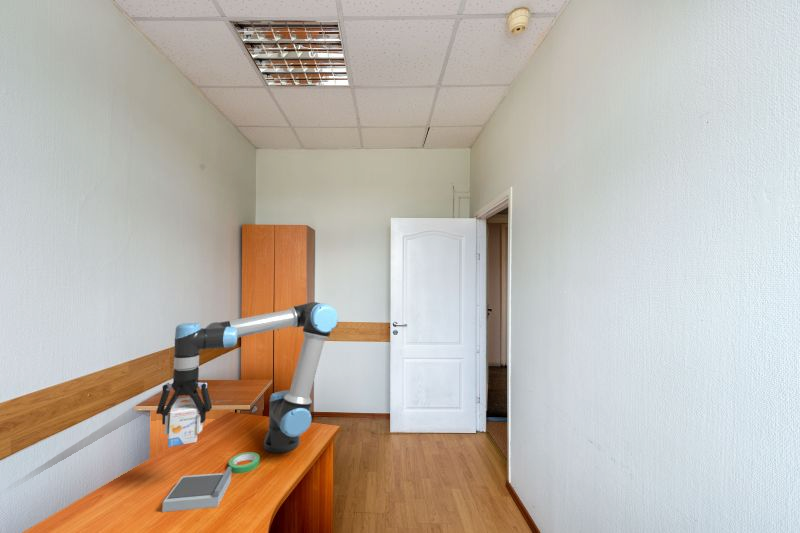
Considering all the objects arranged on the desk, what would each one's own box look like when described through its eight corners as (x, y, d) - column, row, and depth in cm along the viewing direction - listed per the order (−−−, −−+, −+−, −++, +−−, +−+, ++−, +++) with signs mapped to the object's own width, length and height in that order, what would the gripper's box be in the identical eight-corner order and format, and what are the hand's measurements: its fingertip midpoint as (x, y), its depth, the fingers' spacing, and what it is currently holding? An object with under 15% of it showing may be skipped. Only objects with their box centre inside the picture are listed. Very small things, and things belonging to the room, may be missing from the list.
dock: (230, 480, 121) (231, 466, 121) (217, 506, 107) (218, 490, 107) (182, 484, 118) (183, 470, 118) (162, 512, 104) (163, 495, 104)
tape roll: (243, 477, 124) (244, 469, 124) (221, 470, 128) (222, 463, 128) (265, 462, 134) (265, 455, 134) (244, 456, 138) (244, 449, 138)
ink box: (167, 448, 112) (169, 403, 112) (168, 441, 116) (170, 398, 116) (197, 442, 116) (199, 399, 117) (197, 436, 120) (199, 394, 121)
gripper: (224, 364, 122) (221, 426, 122) (157, 365, 119) (154, 429, 118) (216, 369, 115) (213, 435, 114) (145, 371, 111) (142, 439, 111)
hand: (183, 432), depth 116 cm, fingers closed on ink box, 9 cm apart
